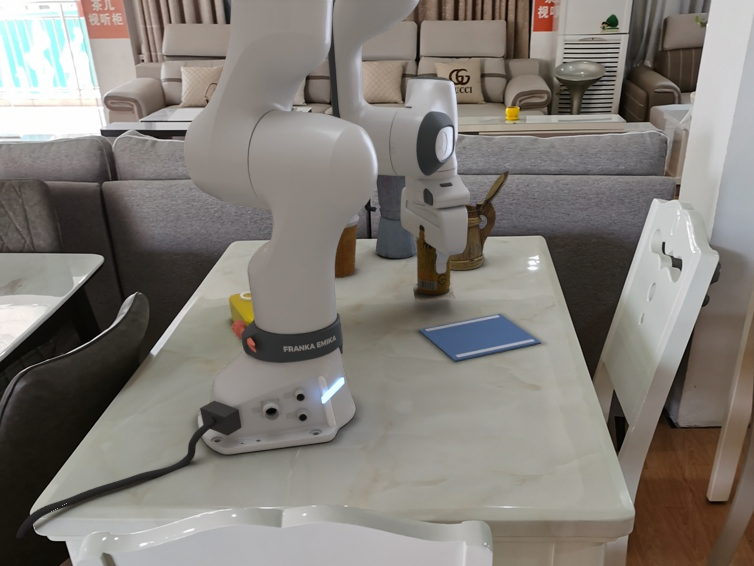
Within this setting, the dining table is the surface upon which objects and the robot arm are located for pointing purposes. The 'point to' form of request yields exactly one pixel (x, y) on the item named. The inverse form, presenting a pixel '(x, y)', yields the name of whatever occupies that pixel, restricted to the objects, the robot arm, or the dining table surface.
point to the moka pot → (392, 219)
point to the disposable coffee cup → (346, 249)
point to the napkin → (478, 337)
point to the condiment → (430, 274)
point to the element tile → (241, 307)
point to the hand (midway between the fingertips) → (431, 266)
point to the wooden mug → (478, 229)
